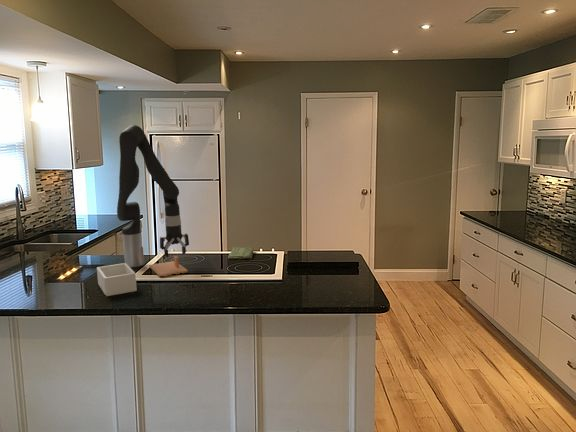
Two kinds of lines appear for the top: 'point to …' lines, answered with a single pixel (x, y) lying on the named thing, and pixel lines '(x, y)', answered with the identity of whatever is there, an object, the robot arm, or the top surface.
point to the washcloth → (241, 253)
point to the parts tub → (116, 279)
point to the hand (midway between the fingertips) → (175, 255)
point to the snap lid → (168, 268)
